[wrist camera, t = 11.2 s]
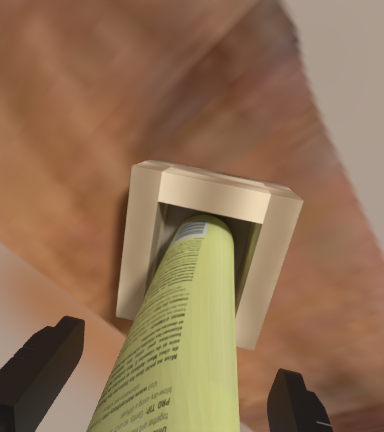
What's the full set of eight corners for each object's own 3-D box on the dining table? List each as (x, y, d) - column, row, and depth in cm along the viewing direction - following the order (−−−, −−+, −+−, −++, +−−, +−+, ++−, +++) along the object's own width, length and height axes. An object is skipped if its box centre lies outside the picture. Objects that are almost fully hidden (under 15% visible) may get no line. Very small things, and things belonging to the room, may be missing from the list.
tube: (231, 277, 23) (218, 919, 4) (173, 270, 23) (-59, 797, 5) (237, 215, 21) (264, 839, 2) (175, 209, 21) (-180, 662, 3)
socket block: (136, 282, 25) (115, 316, 20) (153, 158, 21) (132, 165, 17) (248, 309, 24) (253, 351, 20) (286, 185, 21) (303, 200, 16)
